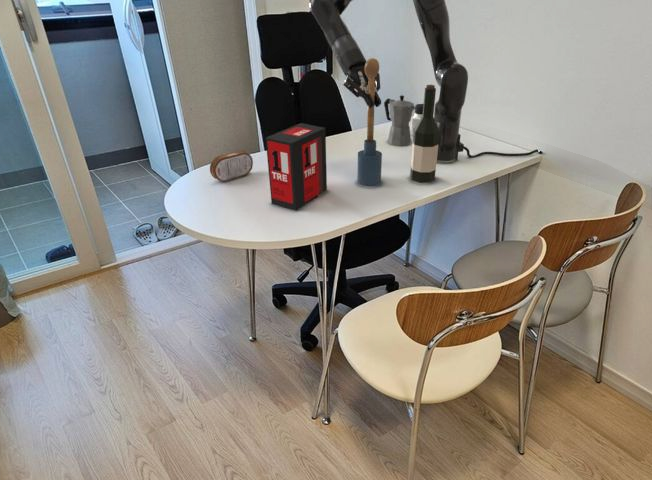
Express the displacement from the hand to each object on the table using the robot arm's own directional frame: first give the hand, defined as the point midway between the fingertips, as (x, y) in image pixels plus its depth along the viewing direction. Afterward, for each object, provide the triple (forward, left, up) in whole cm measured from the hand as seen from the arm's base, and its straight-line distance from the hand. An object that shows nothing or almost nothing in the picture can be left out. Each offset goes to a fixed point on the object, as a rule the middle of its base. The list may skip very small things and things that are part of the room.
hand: (375, 105), depth 147 cm
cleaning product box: (+25, +3, -25) cm, 36 cm away
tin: (+43, -18, -25) cm, 53 cm away
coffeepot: (-23, -39, -25) cm, 52 cm away
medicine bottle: (-36, -46, -25) cm, 64 cm away
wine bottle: (-17, 0, -25) cm, 31 cm away
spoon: (+1, -2, -15) cm, 15 cm away
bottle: (+1, -2, -25) cm, 25 cm away
